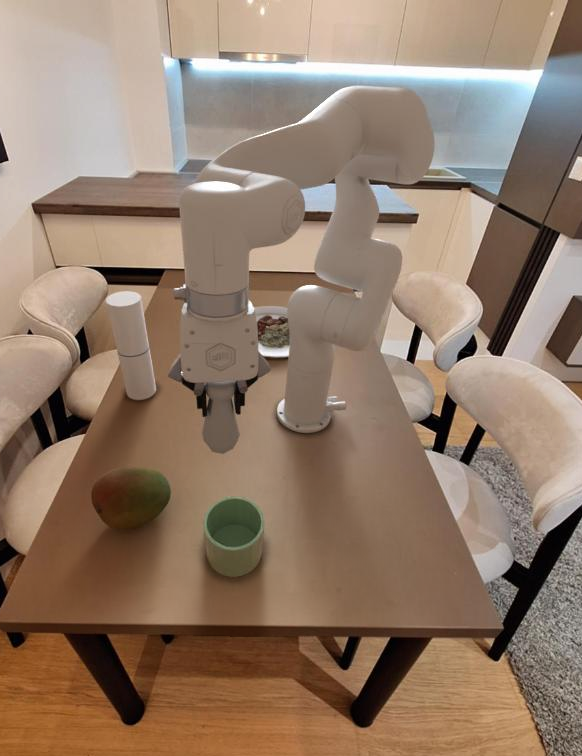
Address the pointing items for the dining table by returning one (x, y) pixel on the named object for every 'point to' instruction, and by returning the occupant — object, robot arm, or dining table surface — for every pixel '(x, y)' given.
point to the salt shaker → (220, 417)
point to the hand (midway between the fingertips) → (220, 408)
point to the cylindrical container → (132, 343)
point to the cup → (234, 536)
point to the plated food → (272, 331)
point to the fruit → (130, 497)
